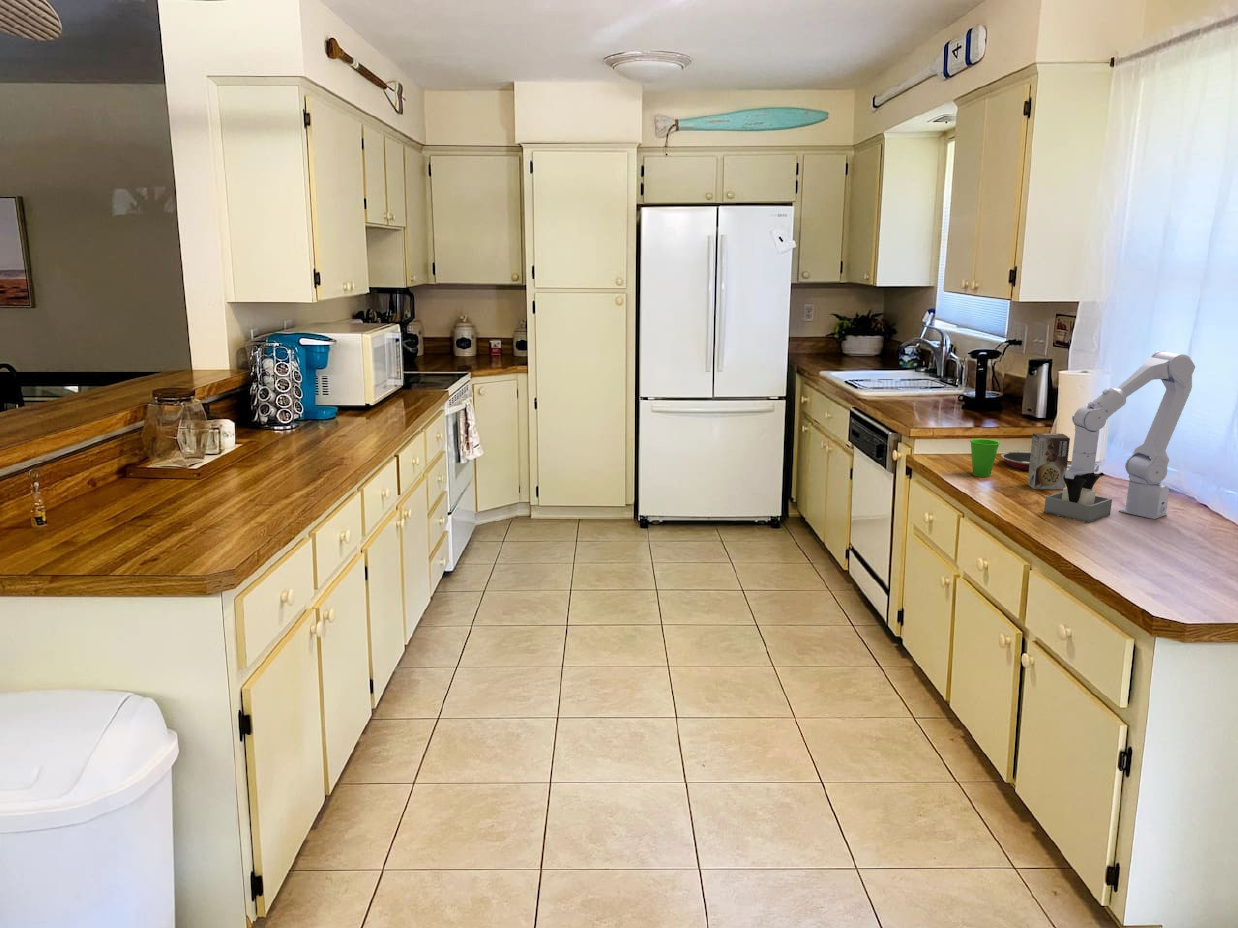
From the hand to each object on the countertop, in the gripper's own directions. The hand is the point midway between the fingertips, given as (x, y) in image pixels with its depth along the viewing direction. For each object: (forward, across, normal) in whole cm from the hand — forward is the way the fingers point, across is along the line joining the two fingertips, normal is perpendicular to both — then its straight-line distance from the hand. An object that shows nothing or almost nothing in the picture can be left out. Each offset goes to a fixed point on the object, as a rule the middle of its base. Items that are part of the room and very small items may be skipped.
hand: (1078, 500), depth 254 cm
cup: (+4, -19, -40) cm, 44 cm away
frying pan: (+4, -39, -32) cm, 50 cm away
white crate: (+1, 0, 0) cm, 1 cm away
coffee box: (+4, -21, -20) cm, 29 cm away
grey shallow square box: (+4, 0, 0) cm, 4 cm away
